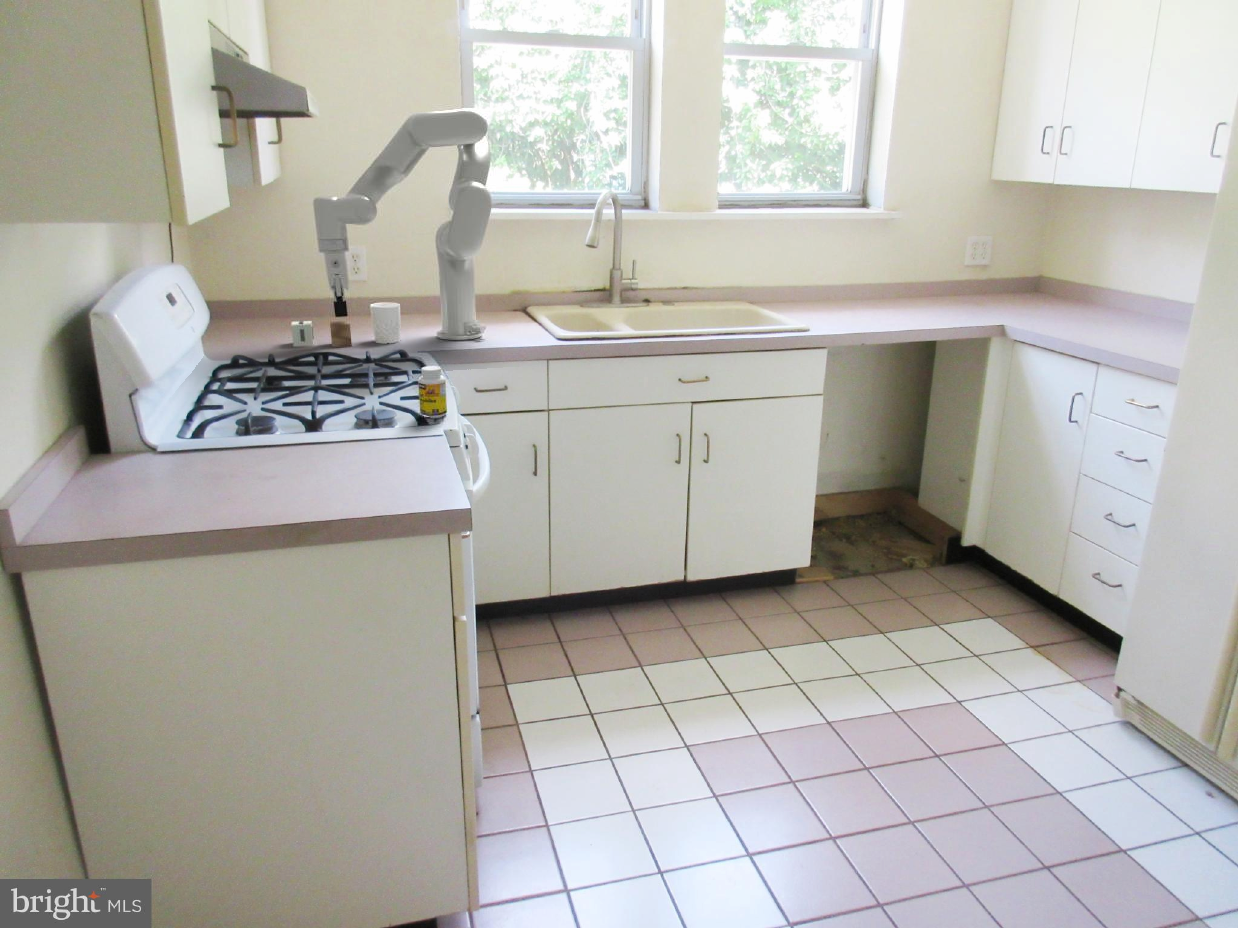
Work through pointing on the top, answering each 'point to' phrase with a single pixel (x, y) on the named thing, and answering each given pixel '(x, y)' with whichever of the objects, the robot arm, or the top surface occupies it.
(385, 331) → the white cup
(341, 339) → the walnut block
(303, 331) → the marked block
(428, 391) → the supplement bottle
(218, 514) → the top surface
